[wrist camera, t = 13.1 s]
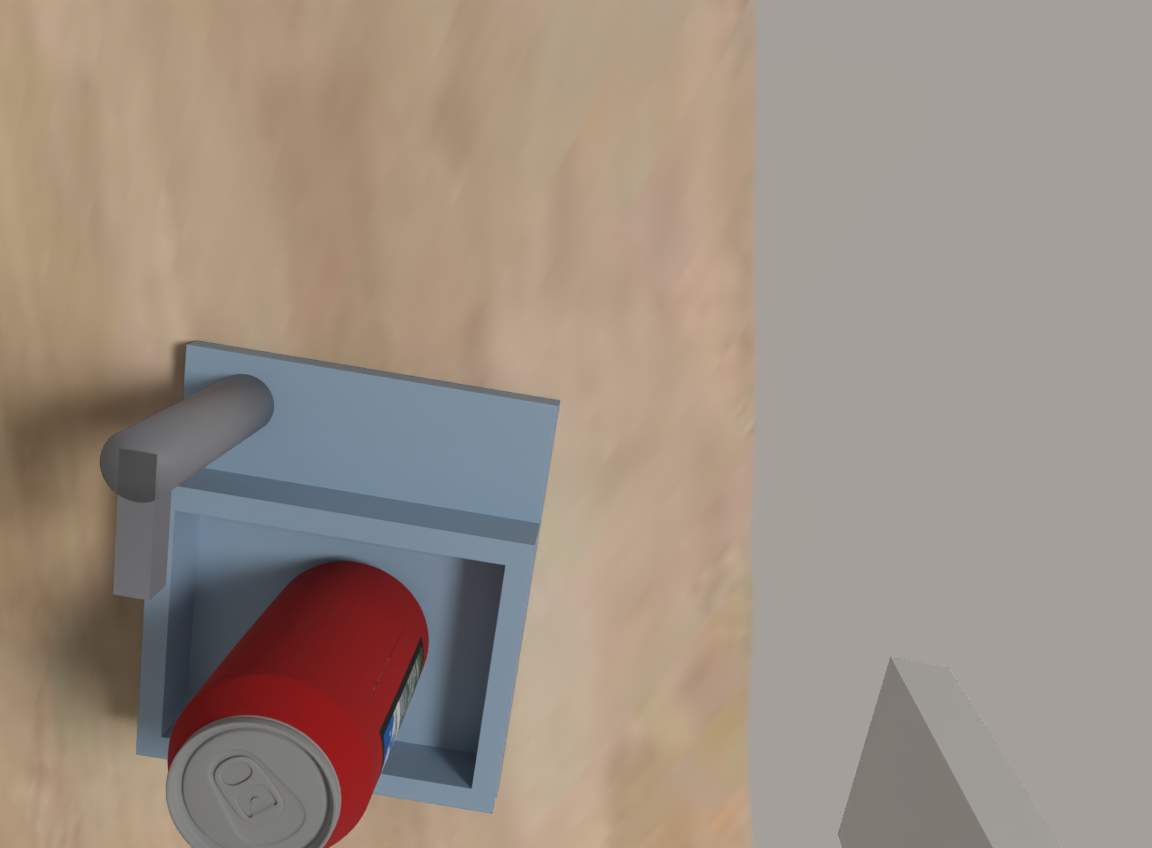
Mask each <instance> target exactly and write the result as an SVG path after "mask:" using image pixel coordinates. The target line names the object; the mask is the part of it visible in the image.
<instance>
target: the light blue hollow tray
mask: <svg viewBox="0 0 1152 848" xmlns="http://www.w3.org/2000/svg"><path fill="white" fill-rule="evenodd" d="M559 405H560V401H559V400H553V399H547V398H541V397H535V396H529V395H523V394H517V393H511V392H505V391H499V390H493V389H487V388H481V387H475V386H469V385H463V384H457V383H450V382H444V381H438V380H432V379H426V378H420V377H414V376H408V375H402V374H396V373H390V372H384V371H378V370H372V369H366V368H360V367H354V366H348V365H342V364H335V363H329V362H323V361H317V360H311V359H305V358H299V357H293V356H287V355H281V354H275V353H269V352H263V351H257V350H251V349H245V348H239V347H233V346H227V345H220V344H214V343H208V342H202V341H195V342H192V343H189V344H187V345H186V360H185V376H184V392H183V400H182V401H180V402H178V403H176V404H174V405H172V406H170V407H168V408H166V409H164V410H162V411H160V412H158V413H156V414H154V415H152V416H150V417H148V418H146V419H144V420H142V421H140V422H138V423H136V424H134V425H132V426H130V427H128V428H126V429H124V430H122V431H120V432H118V433H116V434H114V435H113V436H112V437H110V438H109V439H108V441H107V442H106V443H105V445H104V446H103V449H102V451H101V455H100V468H101V472H102V475H103V477H104V479H105V481H106V483H107V484H108V486H109V487H110V488H111V489H112V490H113V491H114V492H115V493H116V494H117V513H116V535H115V557H114V579H113V595H118V596H124V597H130V598H136V599H143V600H144V616H143V634H142V653H141V671H140V690H139V708H138V727H137V745H136V754H137V755H143V756H149V757H155V758H161V759H167V760H168V747H169V741H170V737H171V733H172V730H173V727H174V725H175V723H176V721H177V719H178V717H179V716H180V714H181V712H182V711H183V710H184V708H185V707H186V706H187V704H188V703H189V702H190V701H191V699H192V698H193V697H194V696H195V694H196V693H197V692H198V691H199V689H200V688H201V687H202V686H203V684H204V683H205V682H206V681H207V679H208V678H209V677H210V676H211V674H212V673H213V672H214V671H215V670H216V668H217V667H218V666H219V665H220V663H221V662H222V661H223V660H224V659H225V657H226V656H227V655H228V654H229V653H230V651H231V650H232V649H233V648H234V646H235V645H236V644H237V643H238V642H239V640H240V639H241V638H242V637H243V636H244V635H245V633H246V632H247V631H248V630H249V629H250V627H251V626H252V625H253V624H254V623H255V622H256V620H257V619H258V618H259V617H260V616H261V614H262V613H263V612H264V611H265V610H266V609H267V607H268V606H269V605H270V604H271V603H272V602H273V601H274V599H275V598H276V597H277V596H278V595H279V594H280V593H281V591H282V590H283V589H284V588H285V587H286V586H287V585H288V584H289V583H290V582H291V581H292V580H293V579H294V578H295V577H297V576H298V575H299V574H301V573H303V572H304V571H306V570H308V569H310V568H312V567H315V566H318V565H321V564H324V563H329V562H337V561H350V562H359V563H363V564H367V565H371V566H374V567H376V568H379V569H381V570H383V571H385V572H387V573H388V574H390V575H392V576H393V577H395V578H396V579H397V580H399V581H400V582H401V583H402V584H403V585H404V586H405V587H406V588H407V589H408V590H409V591H410V592H411V593H412V595H413V596H414V597H415V599H416V600H417V602H418V603H419V605H420V607H421V609H422V611H423V614H424V616H425V619H426V623H427V627H428V634H429V648H428V654H427V658H426V662H425V665H424V667H423V670H422V673H421V675H420V678H419V681H418V683H417V686H416V689H415V691H414V694H413V696H412V699H411V701H410V704H409V706H408V709H407V711H406V714H405V717H404V719H403V722H402V724H401V727H400V729H399V731H398V734H397V736H396V739H395V741H394V744H393V746H392V749H391V751H390V753H389V756H388V758H387V761H386V763H385V766H384V768H383V770H382V773H381V775H380V777H379V780H378V782H377V784H376V787H375V789H374V791H373V794H377V795H383V796H389V797H395V798H401V799H407V800H413V801H419V802H425V803H431V804H437V805H443V806H449V807H455V808H461V809H467V810H473V811H478V812H484V813H490V814H492V813H493V808H494V803H495V798H496V797H497V792H498V788H499V782H500V776H501V769H502V763H503V757H504V751H505V744H506V738H507V732H508V725H509V719H510V713H511V707H512V700H513V694H514V688H515V681H516V675H517V669H518V663H519V656H520V650H521V644H522V637H523V631H524V625H525V619H526V612H527V606H528V600H529V593H530V587H531V581H532V575H533V568H534V562H535V556H536V549H537V543H538V537H539V531H540V524H541V518H542V512H543V505H544V499H545V493H546V487H547V480H548V474H549V468H550V461H551V455H552V449H553V443H554V436H555V430H556V424H557V417H558V411H559Z"/></svg>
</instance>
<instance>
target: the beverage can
mask: <svg viewBox="0 0 1152 848" xmlns="http://www.w3.org/2000/svg"><path fill="white" fill-rule="evenodd" d="M428 648H429V634H428V627H427V623H426V619H425V616H424V614H423V611H422V609H421V607H420V605H419V603H418V602H417V600H416V599H415V597H414V596H413V595H412V593H411V592H410V591H409V590H408V589H407V588H406V587H405V586H404V585H403V584H402V583H401V582H400V581H399V580H397V579H396V578H395V577H393V576H392V575H390V574H388V573H387V572H385V571H383V570H381V569H379V568H376V567H374V566H371V565H367V564H363V563H359V562H350V561H337V562H329V563H324V564H321V565H318V566H315V567H312V568H310V569H308V570H306V571H304V572H303V573H301V574H299V575H298V576H297V577H295V578H294V579H293V580H292V581H291V582H290V583H289V584H288V585H287V586H286V587H285V588H284V589H283V590H282V591H281V593H280V594H279V595H278V596H277V597H276V598H275V599H274V601H273V602H272V603H271V604H270V605H269V606H268V607H267V609H266V610H265V611H264V612H263V613H262V614H261V616H260V617H259V618H258V619H257V620H256V622H255V623H254V624H253V625H252V626H251V627H250V629H249V630H248V631H247V632H246V633H245V635H244V636H243V637H242V638H241V639H240V640H239V642H238V643H237V644H236V645H235V646H234V648H233V649H232V650H231V651H230V653H229V654H228V655H227V656H226V657H225V659H224V660H223V661H222V662H221V663H220V665H219V666H218V667H217V668H216V670H215V671H214V672H213V673H212V674H211V676H210V677H209V678H208V679H207V681H206V682H205V683H204V684H203V686H202V687H201V688H200V689H199V691H198V692H197V693H196V694H195V696H194V697H193V698H192V699H191V701H190V702H189V703H188V704H187V706H186V707H185V708H184V710H183V711H182V712H181V714H180V716H179V717H178V719H177V721H176V723H175V725H174V727H173V730H172V733H171V737H170V741H169V747H168V775H167V781H166V800H167V805H168V809H169V812H170V815H171V818H172V820H173V822H174V824H175V826H176V828H177V830H178V831H179V833H180V834H181V835H182V837H183V838H184V839H185V840H186V842H187V843H188V844H189V845H190V846H191V847H192V848H329V847H331V846H332V845H334V844H335V843H337V842H338V841H340V840H341V839H342V838H343V837H345V836H346V835H347V834H348V833H349V832H350V831H351V830H352V829H353V828H354V827H355V826H356V824H357V823H358V822H359V820H360V819H361V817H362V816H363V814H364V812H365V810H366V808H367V805H368V803H369V801H370V798H371V796H372V794H373V791H374V789H375V787H376V784H377V782H378V780H379V777H380V775H381V773H382V770H383V768H384V766H385V763H386V761H387V758H388V756H389V753H390V751H391V749H392V746H393V744H394V741H395V739H396V736H397V734H398V731H399V729H400V727H401V724H402V722H403V719H404V717H405V714H406V711H407V709H408V706H409V704H410V701H411V699H412V696H413V694H414V691H415V689H416V686H417V683H418V681H419V678H420V675H421V673H422V670H423V667H424V665H425V662H426V658H427V654H428Z"/></svg>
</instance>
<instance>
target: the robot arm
mask: <svg viewBox="0 0 1152 848" xmlns="http://www.w3.org/2000/svg"><path fill="white" fill-rule="evenodd" d="M838 836H839V839H840V842H841V845H842V848H1063V846H1062V845H1061V843H1060V842H1059V840H1058V839H1057V837H1056V835H1055V834H1054V832H1053V831H1052V829H1051V828H1050V826H1049V824H1048V823H1047V821H1046V820H1045V818H1044V817H1043V815H1042V813H1041V812H1040V810H1039V809H1038V807H1037V806H1036V804H1035V803H1034V801H1033V799H1032V798H1031V796H1030V795H1029V793H1028V792H1027V790H1026V788H1025V787H1024V785H1023V784H1022V782H1021V780H1020V779H1019V777H1018V776H1017V774H1016V773H1015V771H1014V770H1013V768H1012V766H1011V765H1010V763H1009V762H1008V760H1007V759H1006V757H1005V756H1004V754H1003V752H1002V751H1001V749H1000V748H999V746H998V745H997V743H996V741H995V740H994V738H993V737H992V735H991V734H990V732H989V731H988V729H987V727H986V726H985V724H984V722H983V721H982V719H981V718H980V716H979V715H978V713H977V711H976V710H975V708H974V707H973V705H972V704H971V702H970V701H969V699H968V697H967V696H966V694H965V693H964V691H963V690H962V688H961V686H960V685H959V683H958V682H957V680H956V679H955V677H954V675H953V674H952V672H951V671H950V669H949V668H948V667H944V666H938V665H933V664H927V663H922V662H916V661H911V660H906V659H900V658H895V657H890V660H889V664H888V667H887V670H886V674H885V677H884V680H883V684H882V687H881V690H880V694H879V697H878V701H877V704H876V707H875V711H874V714H873V718H872V721H871V724H870V727H869V731H868V735H867V738H866V741H865V744H864V748H863V751H862V754H861V758H860V761H859V765H858V768H857V771H856V775H855V778H854V781H853V785H852V788H851V792H850V795H849V798H848V802H847V805H846V808H845V812H844V815H843V819H842V822H841V825H840V829H839V832H838Z"/></svg>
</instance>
